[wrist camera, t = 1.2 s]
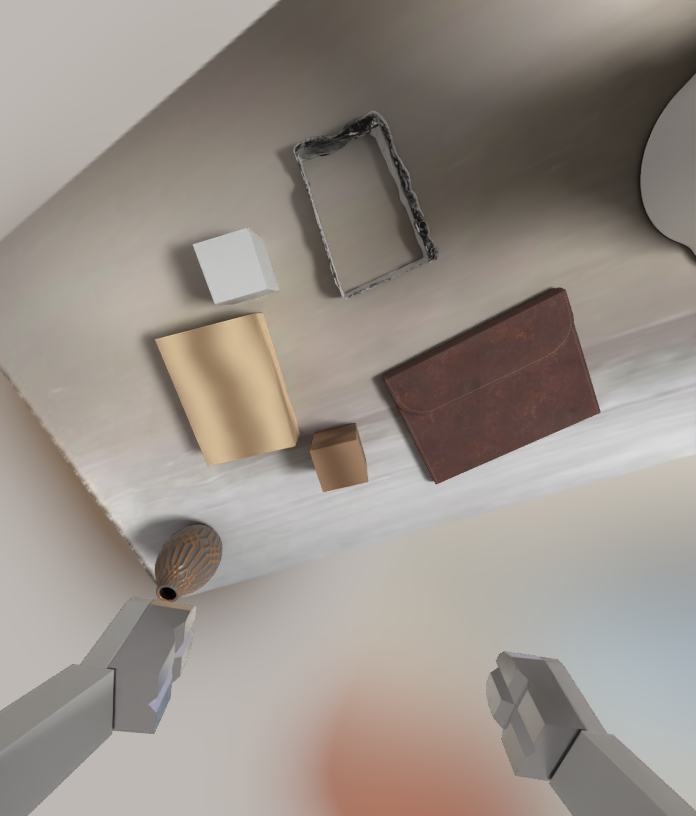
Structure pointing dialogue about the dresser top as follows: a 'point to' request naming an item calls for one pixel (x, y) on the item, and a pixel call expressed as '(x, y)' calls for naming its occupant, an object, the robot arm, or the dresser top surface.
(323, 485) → the walnut cube
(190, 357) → the oak block
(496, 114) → the dresser top surface
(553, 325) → the notebook
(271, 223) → the dresser top surface
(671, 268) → the dresser top surface
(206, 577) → the vase
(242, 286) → the grey block
